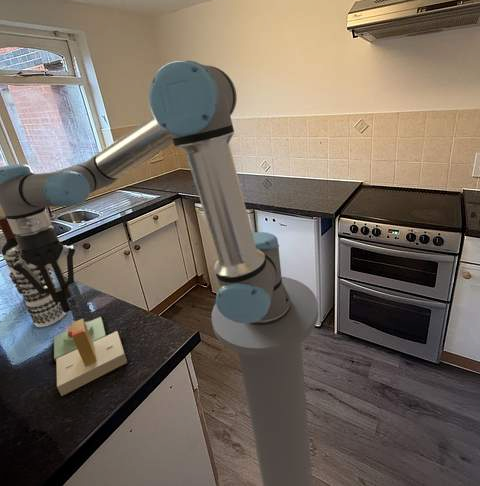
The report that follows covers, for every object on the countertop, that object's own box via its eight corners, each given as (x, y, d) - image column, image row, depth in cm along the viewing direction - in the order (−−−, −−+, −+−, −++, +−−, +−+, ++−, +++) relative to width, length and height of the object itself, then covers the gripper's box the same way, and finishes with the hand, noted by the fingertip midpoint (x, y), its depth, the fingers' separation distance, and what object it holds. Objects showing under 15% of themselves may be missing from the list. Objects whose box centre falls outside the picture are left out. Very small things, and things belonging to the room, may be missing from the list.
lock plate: (120, 339, 82) (117, 330, 81) (127, 362, 74) (124, 353, 73) (60, 367, 75) (56, 357, 74) (61, 396, 67) (56, 386, 66)
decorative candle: (74, 307, 98) (46, 239, 89) (52, 327, 89) (19, 255, 80) (49, 307, 99) (19, 240, 90) (25, 328, 90) (-11, 256, 81)
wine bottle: (22, 304, 102) (-17, 224, 91) (27, 293, 108) (-10, 217, 97) (49, 296, 105) (14, 218, 94) (51, 285, 112) (19, 211, 101)
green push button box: (102, 319, 91) (99, 311, 90) (106, 338, 83) (103, 330, 82) (55, 339, 85) (51, 331, 84) (55, 362, 77) (51, 353, 76)
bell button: (85, 324, 85) (83, 319, 85) (86, 332, 82) (84, 327, 82) (69, 331, 83) (66, 326, 83) (69, 339, 80) (67, 334, 80)
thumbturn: (83, 351, 75) (70, 322, 72) (94, 346, 77) (82, 317, 73) (85, 366, 71) (71, 336, 67) (96, 361, 72) (84, 331, 69)
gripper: (-4, 244, 65) (37, 328, 74) (66, 226, 72) (96, 305, 81) (1, 233, 71) (38, 313, 80) (65, 217, 78) (93, 292, 86)
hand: (67, 309), depth 80 cm, fingers closed
